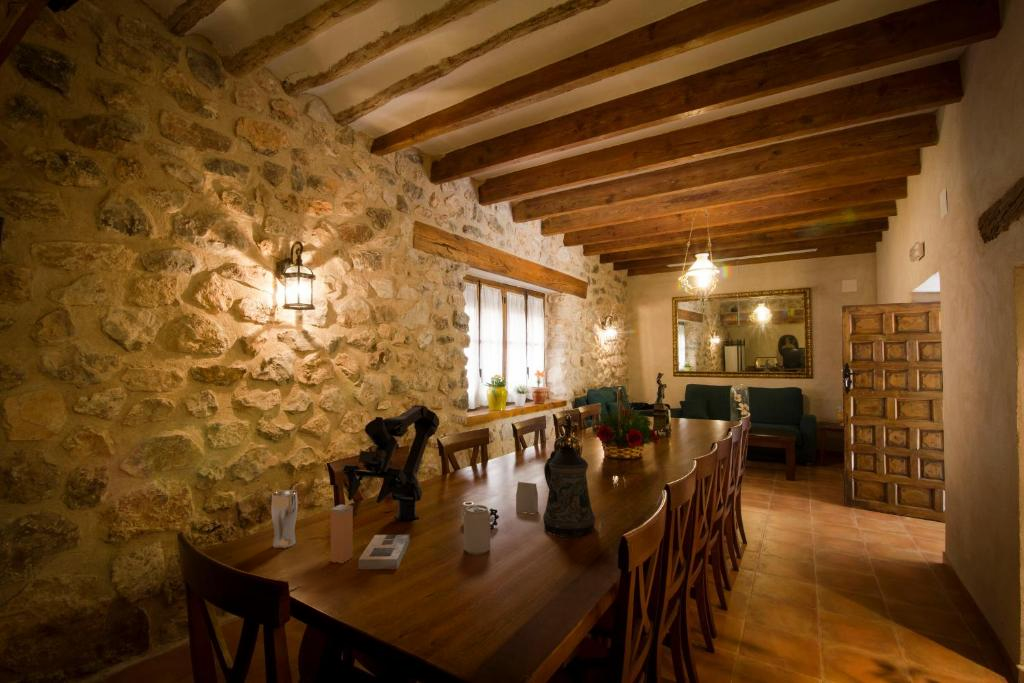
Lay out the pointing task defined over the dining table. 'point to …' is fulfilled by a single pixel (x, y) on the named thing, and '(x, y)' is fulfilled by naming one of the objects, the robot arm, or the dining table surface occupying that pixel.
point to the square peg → (341, 533)
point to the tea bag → (527, 497)
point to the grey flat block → (384, 552)
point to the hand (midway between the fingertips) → (363, 501)
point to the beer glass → (284, 517)
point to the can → (477, 529)
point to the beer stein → (567, 495)
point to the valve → (467, 504)
